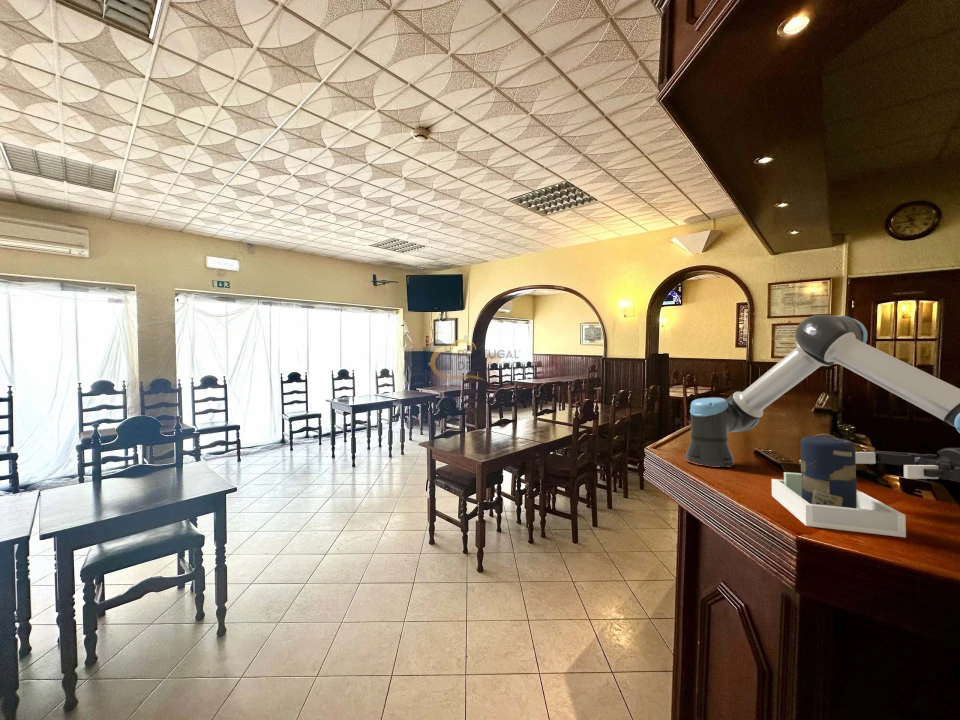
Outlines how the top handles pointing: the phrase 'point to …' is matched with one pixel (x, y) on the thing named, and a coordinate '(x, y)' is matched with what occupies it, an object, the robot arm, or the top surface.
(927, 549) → the top surface
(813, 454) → the dark blue canister
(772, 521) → the top surface
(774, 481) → the white tray
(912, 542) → the top surface
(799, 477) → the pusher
